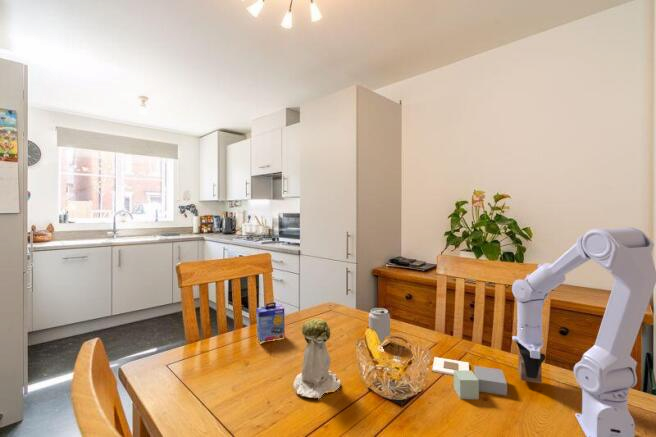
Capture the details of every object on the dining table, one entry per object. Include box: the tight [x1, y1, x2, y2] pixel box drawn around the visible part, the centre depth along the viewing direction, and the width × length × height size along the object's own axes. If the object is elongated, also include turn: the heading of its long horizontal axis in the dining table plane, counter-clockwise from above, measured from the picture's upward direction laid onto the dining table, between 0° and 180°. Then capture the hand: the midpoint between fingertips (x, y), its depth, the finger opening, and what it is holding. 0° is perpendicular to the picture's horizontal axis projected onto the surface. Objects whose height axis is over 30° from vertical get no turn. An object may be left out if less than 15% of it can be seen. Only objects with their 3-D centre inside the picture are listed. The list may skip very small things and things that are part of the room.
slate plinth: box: [473, 365, 508, 397], centre depth 84 cm, size 7×7×4 cm
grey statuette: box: [292, 318, 341, 400], centre depth 86 cm, size 12×13×18 cm
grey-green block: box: [453, 370, 480, 400], centre depth 81 cm, size 5×5×5 cm
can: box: [368, 307, 391, 343], centre depth 111 cm, size 8×8×12 cm
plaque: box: [431, 356, 470, 376], centre depth 93 cm, size 8×10×1 cm
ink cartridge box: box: [255, 301, 286, 342], centre depth 116 cm, size 10×6×14 cm, turn 115°
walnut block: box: [517, 354, 543, 384], centre depth 84 cm, size 5×5×5 cm
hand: (529, 372), depth 84 cm, fingers closed on walnut block, 5 cm apart
